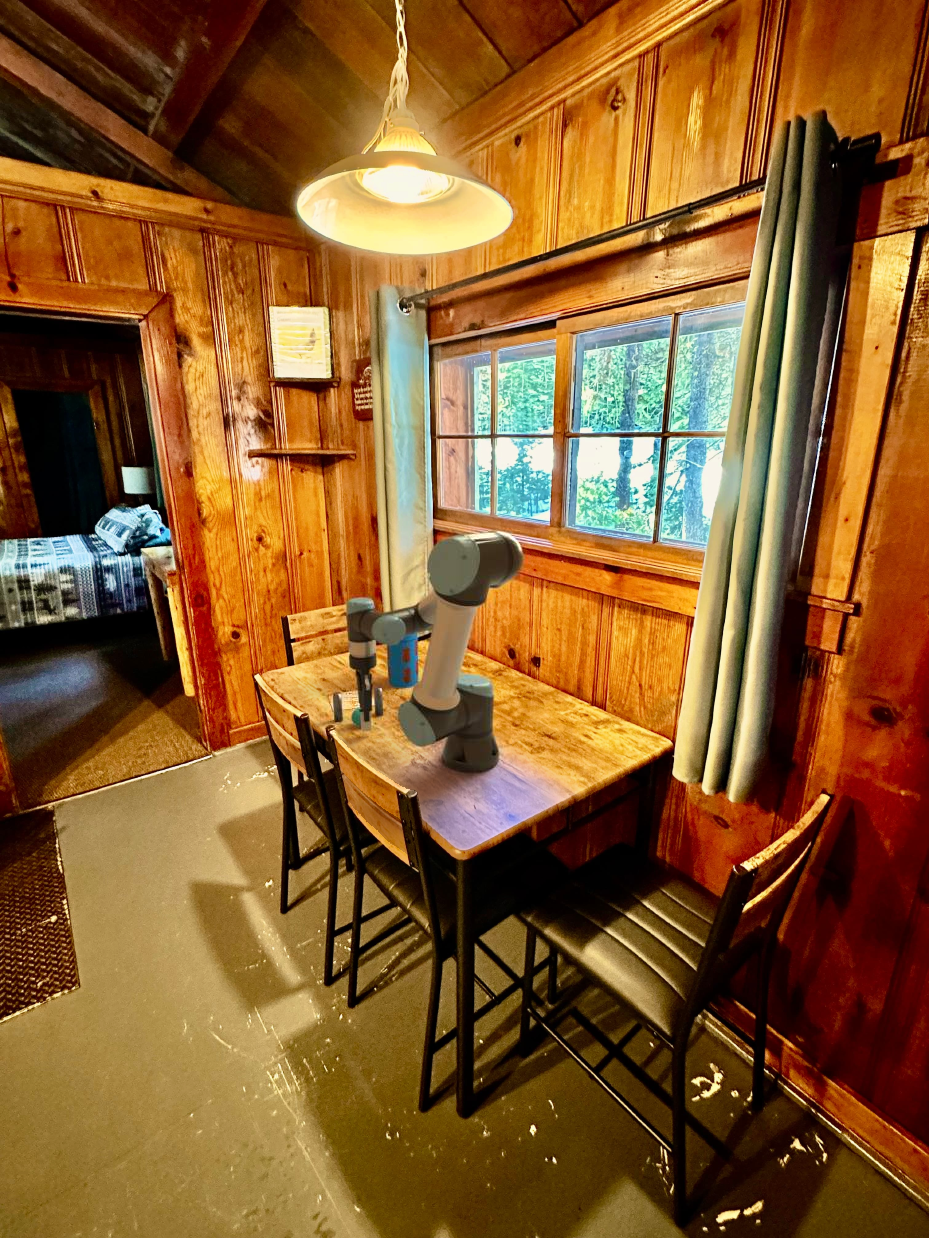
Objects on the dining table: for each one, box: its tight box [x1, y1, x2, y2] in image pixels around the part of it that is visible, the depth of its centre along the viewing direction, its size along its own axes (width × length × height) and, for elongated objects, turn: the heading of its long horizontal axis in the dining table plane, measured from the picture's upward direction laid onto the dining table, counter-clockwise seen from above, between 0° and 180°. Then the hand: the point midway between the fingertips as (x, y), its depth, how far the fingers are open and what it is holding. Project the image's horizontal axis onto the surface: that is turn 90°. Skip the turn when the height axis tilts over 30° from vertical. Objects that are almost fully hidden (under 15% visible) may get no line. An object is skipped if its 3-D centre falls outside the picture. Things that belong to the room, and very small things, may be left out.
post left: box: [331, 691, 344, 723], centre depth 175 cm, size 3×3×9 cm
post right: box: [373, 686, 384, 717], centre depth 179 cm, size 3×3×9 cm
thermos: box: [386, 633, 419, 689], centre depth 202 cm, size 11×11×25 cm
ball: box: [351, 708, 362, 727], centre depth 172 cm, size 6×6×6 cm
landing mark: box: [328, 689, 374, 713], centre depth 191 cm, size 14×14×1 cm
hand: (366, 729), depth 166 cm, fingers closed
